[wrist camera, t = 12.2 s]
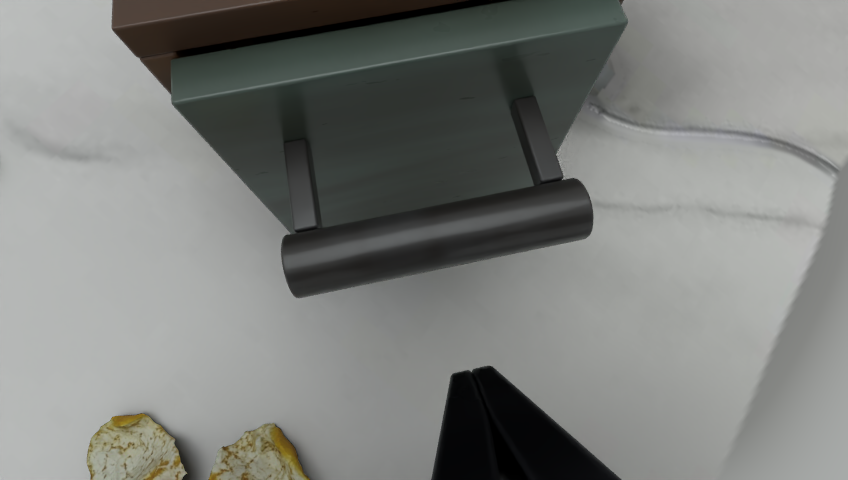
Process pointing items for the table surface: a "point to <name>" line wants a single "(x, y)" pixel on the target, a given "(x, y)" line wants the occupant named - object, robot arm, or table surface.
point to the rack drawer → (407, 133)
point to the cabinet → (231, 23)
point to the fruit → (160, 462)
